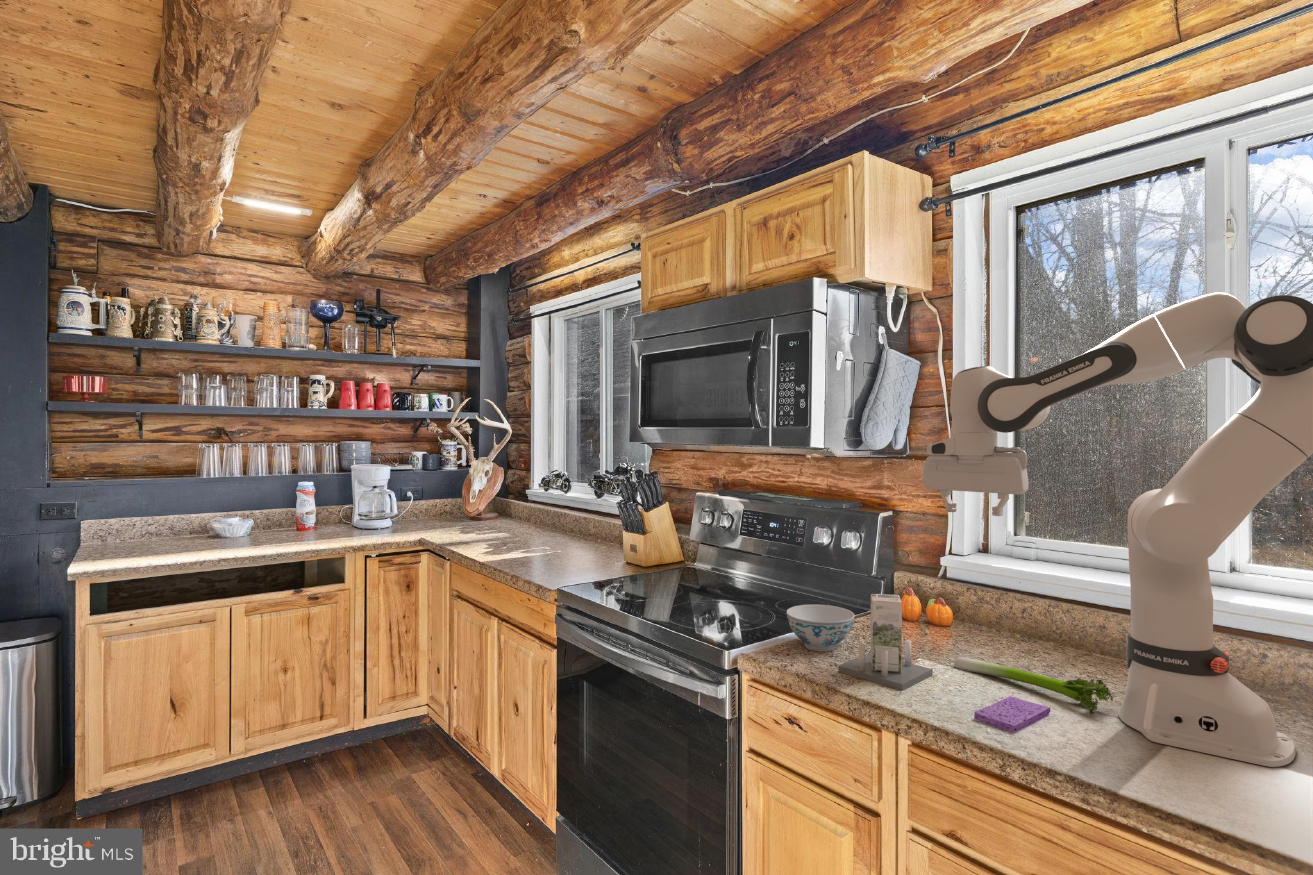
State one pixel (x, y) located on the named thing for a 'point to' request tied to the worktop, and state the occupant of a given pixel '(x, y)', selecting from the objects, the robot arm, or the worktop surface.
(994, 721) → the sponges
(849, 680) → the worktop surface
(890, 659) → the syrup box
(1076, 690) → the leek
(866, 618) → the worktop surface
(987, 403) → the robot arm
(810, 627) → the chinaware
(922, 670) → the pin tray
